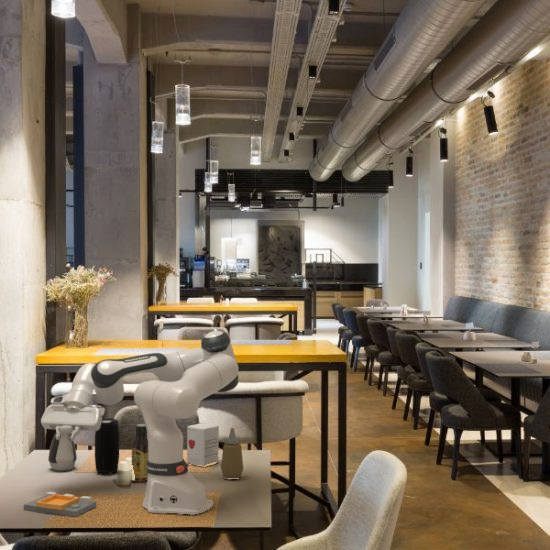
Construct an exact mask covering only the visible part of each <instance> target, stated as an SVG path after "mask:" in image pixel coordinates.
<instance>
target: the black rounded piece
mask: <svg viewBox="0 0 550 550" xmlns="http://www.w3.org/2000/svg"><path fill="white" fill-rule="evenodd" d="M56 435H57V431H56V432H55V434H54V435H53V438H52V440H51V443H50V447H49V450H48V451H49V453H48V458H47V459H48V460H47V461H48V462H49V463H48V464H49V465H50V468H52V470H54V471H56V472H66V471H69V470H71V469H73V467H74V466H75V464H76V461H77V458H78V457H77V450H76V445H75V440H74V441H72V447H73V454H74V460H73V462H72V464H71V466H68V467H59V466H58V464H57V462H56V455H57V451H58V446H59V441H60V440H57V439H56Z"/></svg>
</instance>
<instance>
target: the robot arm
mask: <svg viewBox="0 0 550 550" xmlns="http://www.w3.org/2000/svg"><path fill="white" fill-rule="evenodd" d="M231 342H232V341H231V337H230V336H229V334H228V333H227V332H225V331H224V330H212V331H210V332H208V333H206V334H205V335H203V337H202V338H201V340H200V344H201V345H200V346H201V347H194V348H188V349H182V350H178V351H175V352H172V353H164V354H163V353H160V352H153V353H146V354H141V355H140V354H139V355H134V356H130V357H129V356H128V357H125V358H124V357H123V358H109V359H102V360H100V361H98V362H96V363H92V362H91V363H90V362H89V363H88V362H87V363H85V364H83V365H81V367H79V369H78V371H77V372H76V374H75V376H74V378H73V381H72V383H71V389H70V390H69V391H68V393H66V394H63V395H59V396H55V397H52V398H51V399H50V404H49V405H48V406H47V407H46V408H45V410H44V412H43V414H42V417H41V419H40V424H41V425H42V427H43V429H45V430H47V429H48V430H55V431H56V432H57V435H56V439H57V440H60V438H61V433H60V432H59V428H60V427H61V426H64V425H69V426H72V427H73V431H72V433H71V434H69V437H68V439H69V440H70V441H74V442H75V439H76V437H77V436H79V434H80V433H82V431H84V432H87V431H88V432H96V431H97V430H99V429H100V426H101V422H102V419H103V416H104V415H105V412H106V409H105V407H104V406H107V407H109V406H111V407H112V406H115V405H118V404H119V403H120V402H121V401H122V400H123V399H124V397H125V389H124V388H125V387H124V383H123V379H124V378H125V377H127V376H131V375H137V374H141V373H152V374H153V375H154V376H155V377H156V378H157V379H158V380H157V379H152V380H146V381H142V382H140V383H139V384H138V385H137V386H136V389H135V391H134V395H133V401H134V403H135V406H136V407H137V408H138V409H139V411H140V414H141V415H142V418H143V421H144V424H145V425H146V429H147V440H148V460H147V481H146V486H145V487H146V488H145V494H144V498H143V501H142V506H143V508H145V509H146V510H147V512H148V513H153V514H166V513H178V514H177V515H183V514H188V516H196V515H195V514H197V515H200V514H199V513H201V514H203V513H205V511H206V512H208V511H209V510H211V509H212V508H213V507H214V505H213V504H214V500H213V499H208V498H207V497H208V496H207V492H206V487H205V485H204V483H202V482H201V481H200V480H199V479H197V478H196V477H195V476H194V475H192V474H191V473H190V472H189V467H191V465H189V464H190V462H189V463H187V461H185V459H184V436H183V432H182V431H181V429H180V428H179V427H178V424H177V423H176V420H184V419H185V420H186V419H190V418H192V417H194V416H195V415H196V413H197V412H198V410H199V407H200V403H201V402H202V401H203V400H204V399H206V398H207V397H209V396H211V395H213V394H215V393H226V392H227V393H228V392H229V391H232V390H234V389H235V388H236V387H237V386H238V385H239V364H238V362H237V361H236V355H235V352H234V349H233V346H232V343H231ZM93 403H96V404H98V405H95V404H93ZM102 405H103V406H102ZM212 506H213V507H212ZM211 507H212V508H211ZM210 508H211V509H210ZM207 510H208V511H207ZM202 512H203V513H202ZM189 514H190V515H189Z"/></svg>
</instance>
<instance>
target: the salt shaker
mask: <svg viewBox="0 0 550 550" xmlns="http://www.w3.org/2000/svg"><path fill="white" fill-rule="evenodd" d="M59 432H60V433H61V438H60V441H59V446H58V451H57V455H56V462H57V464H58V466H59V467H68V466H71V464H72V462H73V460H74V454H73V447H72V441H70V440H69V439H68V437H69V434H72V433H73V432H74V430H73V427H72V426H69V425H64V426H61V427H60V428H59Z"/></svg>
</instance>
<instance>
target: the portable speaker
mask: <svg viewBox="0 0 550 550" xmlns="http://www.w3.org/2000/svg"><path fill="white" fill-rule="evenodd" d="M119 427H120V426H119V420H118V419H116V418H113V417H105V418H102V422H101V426H100V429H99V430H97V431H94V432H95V433H94V465H95V471H96V472H97V474H98V475H99V474H102V475H101V476H109V475H110V474H111V473H115V472H117V473H118V469H119V461H120V428H119Z"/></svg>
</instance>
